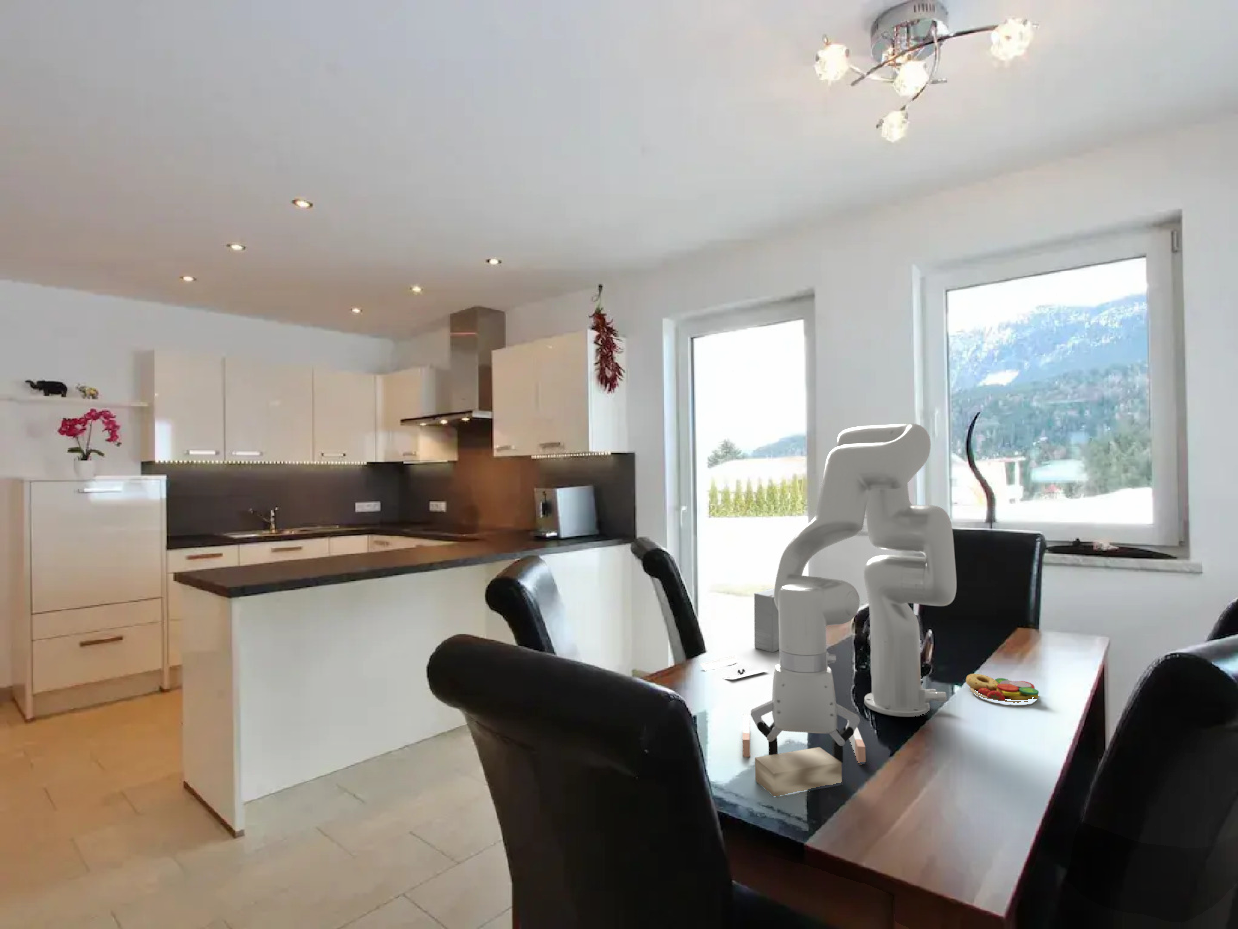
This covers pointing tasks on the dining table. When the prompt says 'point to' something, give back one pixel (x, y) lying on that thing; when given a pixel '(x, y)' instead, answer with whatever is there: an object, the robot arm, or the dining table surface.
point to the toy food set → (1001, 688)
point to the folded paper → (727, 661)
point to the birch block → (797, 771)
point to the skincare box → (766, 621)
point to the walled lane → (854, 739)
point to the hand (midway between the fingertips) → (805, 764)
